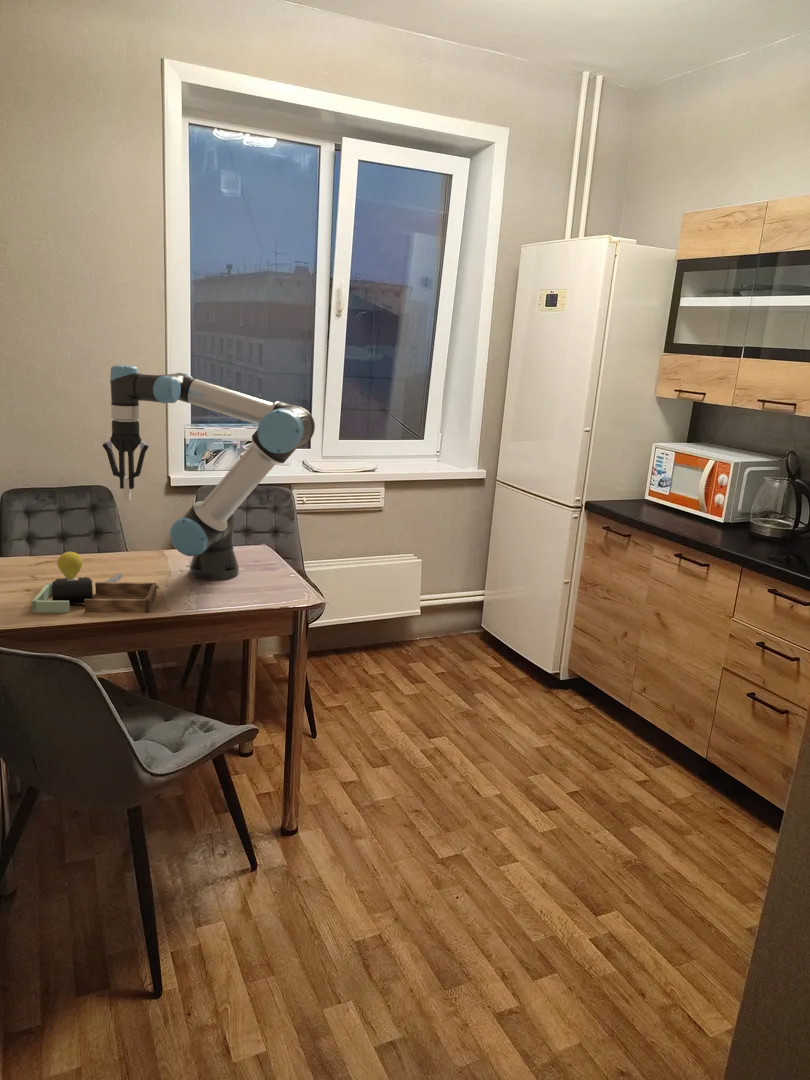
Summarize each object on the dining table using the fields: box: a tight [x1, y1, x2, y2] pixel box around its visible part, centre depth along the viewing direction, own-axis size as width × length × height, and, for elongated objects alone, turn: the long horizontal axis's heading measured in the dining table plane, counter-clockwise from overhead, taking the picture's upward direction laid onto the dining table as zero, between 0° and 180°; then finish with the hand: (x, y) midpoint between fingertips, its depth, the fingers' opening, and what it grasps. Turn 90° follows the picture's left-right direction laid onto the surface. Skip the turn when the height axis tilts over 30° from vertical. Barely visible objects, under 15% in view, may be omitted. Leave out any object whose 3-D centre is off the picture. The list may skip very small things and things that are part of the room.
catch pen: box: [31, 582, 71, 614], centre depth 208 cm, size 9×15×3 cm, turn 10°
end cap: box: [51, 576, 94, 605], centre depth 209 cm, size 10×7×7 cm
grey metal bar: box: [104, 573, 123, 582], centre depth 227 cm, size 10×2×2 cm, turn 175°
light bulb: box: [57, 551, 83, 581], centre depth 222 cm, size 7×7×10 cm
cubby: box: [83, 581, 158, 614], centre depth 211 cm, size 16×15×4 cm
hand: (127, 499), depth 227 cm, fingers closed
